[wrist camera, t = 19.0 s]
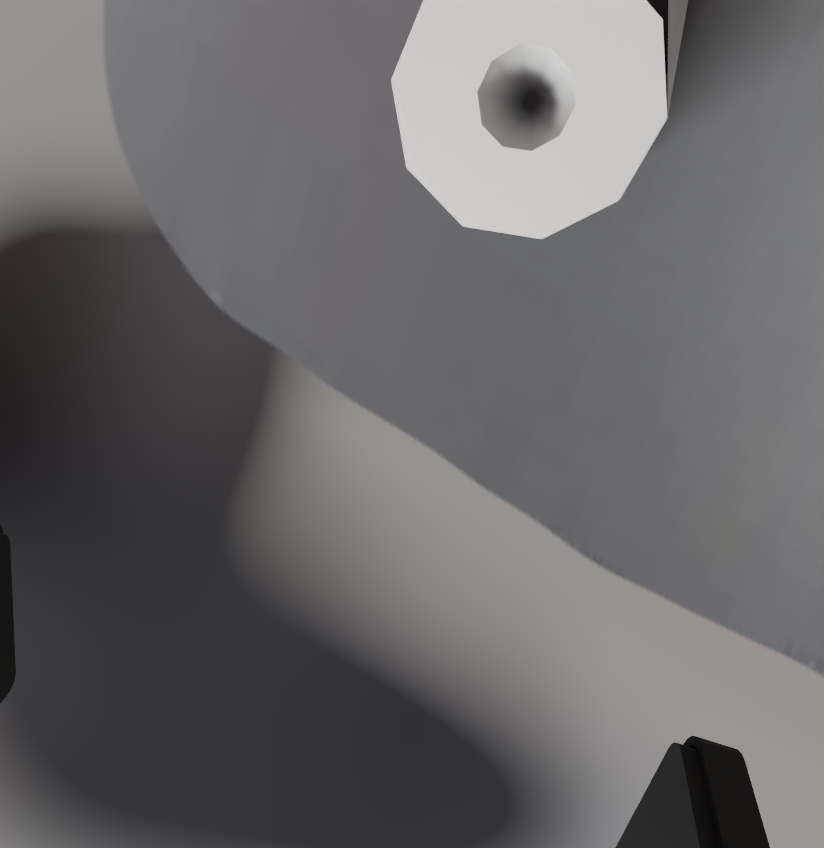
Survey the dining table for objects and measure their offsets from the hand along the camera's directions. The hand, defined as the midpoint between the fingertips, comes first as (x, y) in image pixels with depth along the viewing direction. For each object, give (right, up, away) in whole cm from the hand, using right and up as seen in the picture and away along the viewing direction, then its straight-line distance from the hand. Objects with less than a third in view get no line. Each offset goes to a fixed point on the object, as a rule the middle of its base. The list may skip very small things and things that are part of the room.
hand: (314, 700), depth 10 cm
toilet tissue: (+8, +19, +22) cm, 30 cm away
